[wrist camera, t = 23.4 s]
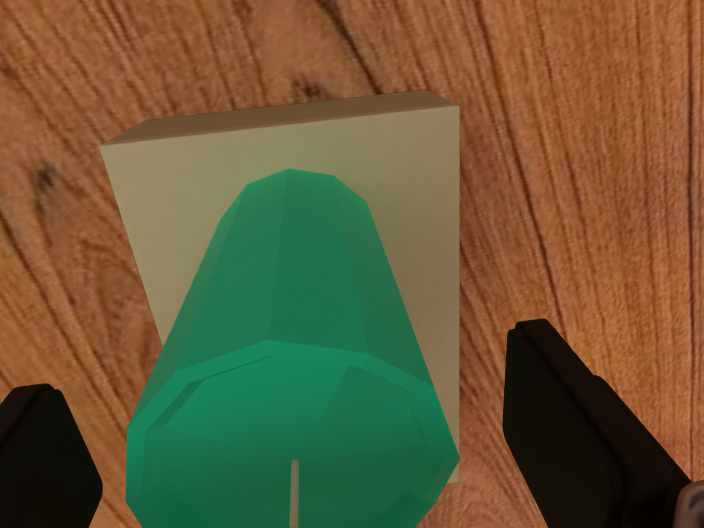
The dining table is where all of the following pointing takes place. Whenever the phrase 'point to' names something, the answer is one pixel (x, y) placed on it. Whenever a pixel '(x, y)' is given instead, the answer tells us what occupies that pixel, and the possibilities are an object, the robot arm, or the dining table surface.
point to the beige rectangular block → (315, 156)
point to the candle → (290, 378)
